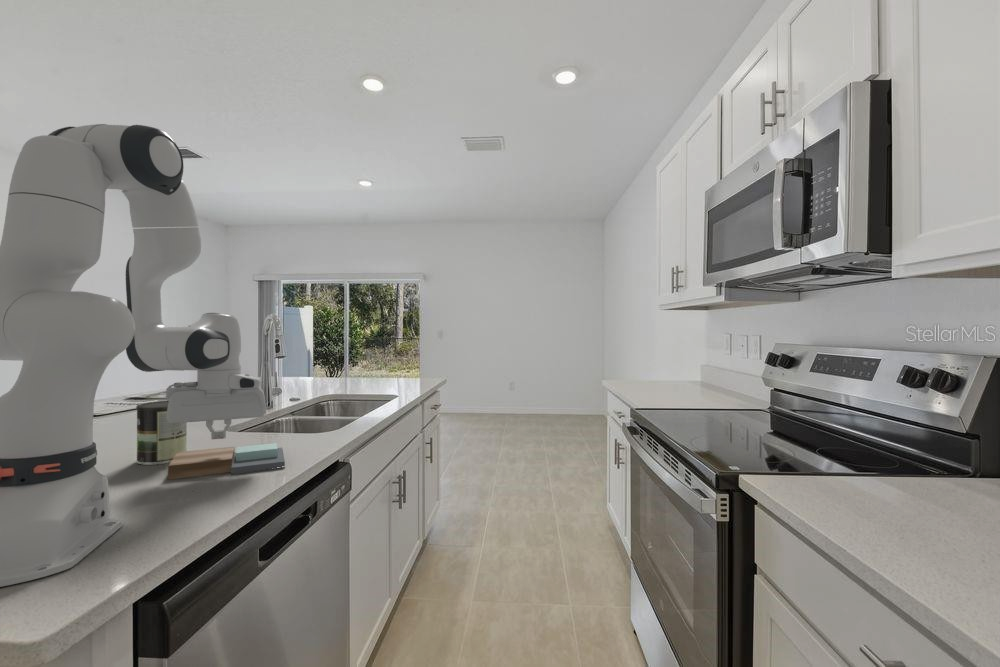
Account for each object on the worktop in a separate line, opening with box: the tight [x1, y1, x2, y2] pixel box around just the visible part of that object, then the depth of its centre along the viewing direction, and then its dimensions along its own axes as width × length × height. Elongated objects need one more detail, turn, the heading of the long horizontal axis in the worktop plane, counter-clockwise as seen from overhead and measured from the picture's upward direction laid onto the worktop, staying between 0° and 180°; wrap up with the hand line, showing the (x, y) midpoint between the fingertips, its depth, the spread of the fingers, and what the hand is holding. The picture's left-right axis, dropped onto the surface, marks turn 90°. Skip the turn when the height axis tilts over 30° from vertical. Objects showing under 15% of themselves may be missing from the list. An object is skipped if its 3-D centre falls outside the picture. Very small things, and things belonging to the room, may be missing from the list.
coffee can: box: [135, 400, 188, 466], centre depth 113 cm, size 10×10×14 cm
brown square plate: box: [167, 446, 236, 480], centre depth 106 cm, size 12×12×3 cm
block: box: [235, 442, 279, 461], centre depth 112 cm, size 6×9×2 cm, turn 119°
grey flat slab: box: [230, 447, 286, 475], centre depth 111 cm, size 14×11×2 cm
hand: (218, 438), depth 107 cm, fingers closed
